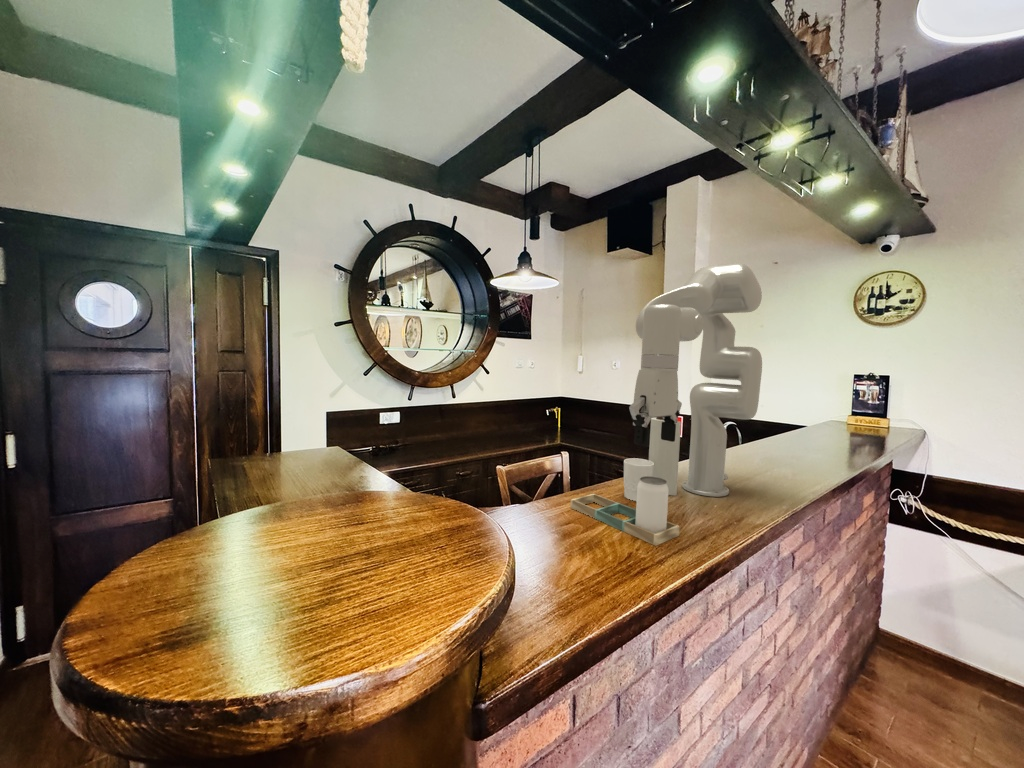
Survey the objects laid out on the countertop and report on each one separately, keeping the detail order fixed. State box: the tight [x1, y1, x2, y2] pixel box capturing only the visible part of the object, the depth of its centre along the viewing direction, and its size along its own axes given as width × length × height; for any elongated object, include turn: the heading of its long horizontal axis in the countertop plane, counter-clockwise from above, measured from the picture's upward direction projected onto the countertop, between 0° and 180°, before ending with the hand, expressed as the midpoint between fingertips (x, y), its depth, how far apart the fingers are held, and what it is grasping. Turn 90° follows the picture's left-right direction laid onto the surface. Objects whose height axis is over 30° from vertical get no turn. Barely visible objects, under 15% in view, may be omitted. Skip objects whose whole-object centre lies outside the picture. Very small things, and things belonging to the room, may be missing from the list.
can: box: [635, 476, 669, 534], centre depth 91 cm, size 6×6×12 cm
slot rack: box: [570, 493, 681, 547], centre depth 98 cm, size 9×25×2 cm, turn 37°
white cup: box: [623, 457, 654, 502], centre depth 114 cm, size 8×8×10 cm
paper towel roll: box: [648, 417, 682, 496], centre depth 119 cm, size 7×6×21 cm
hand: (654, 442), depth 90 cm, fingers open, 9 cm apart
